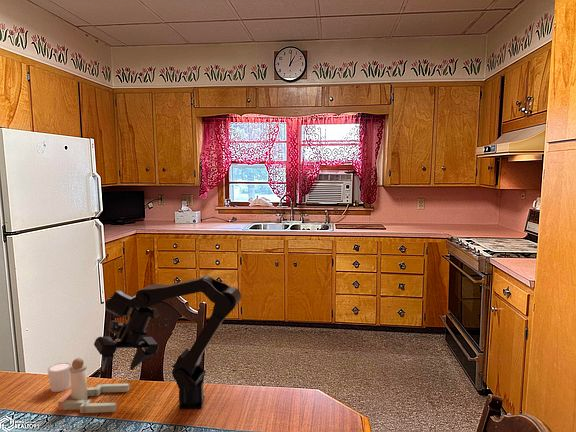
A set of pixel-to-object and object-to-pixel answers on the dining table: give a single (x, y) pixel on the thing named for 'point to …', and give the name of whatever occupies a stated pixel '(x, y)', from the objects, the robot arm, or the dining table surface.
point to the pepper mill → (78, 380)
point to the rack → (86, 405)
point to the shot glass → (59, 376)
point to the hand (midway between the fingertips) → (117, 369)
